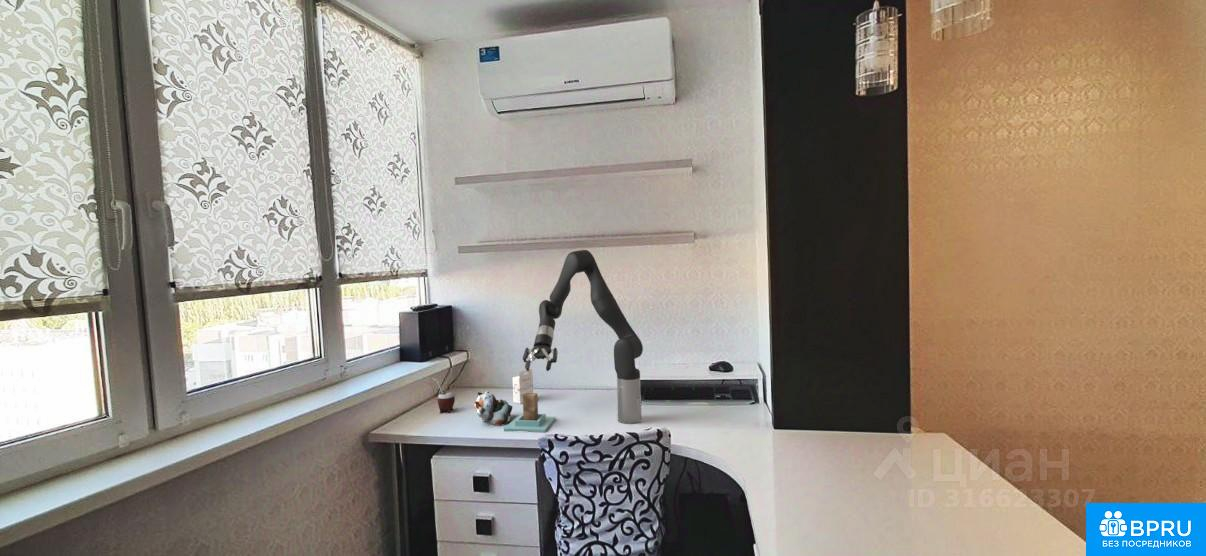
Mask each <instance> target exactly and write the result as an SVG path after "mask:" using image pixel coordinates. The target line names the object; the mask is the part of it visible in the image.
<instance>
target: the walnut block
mask: <svg viewBox="0 0 1206 556" xmlns="http://www.w3.org/2000/svg"><path fill="white" fill-rule="evenodd" d="M538 398H539V397H538V392H533V393H526V394H524V395H523V403H522V408H523V409H522V411H523V412H522V414H523V420H532V421H537V420H538V414H539V408H538V407H539V403H538V402H539V400H538Z"/></svg>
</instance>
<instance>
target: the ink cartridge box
mask: <svg viewBox="0 0 1206 556" xmlns="http://www.w3.org/2000/svg"><path fill="white" fill-rule="evenodd" d="M533 377H534V376H533V369H532V368H529V371H527V370H526V369H525V370H522V371H519V372H518V375H517V376H513V377H512V400H513V403H515V404H520V405H521V403H522V404H523V395H524V394H526V393H534V379H533Z"/></svg>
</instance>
